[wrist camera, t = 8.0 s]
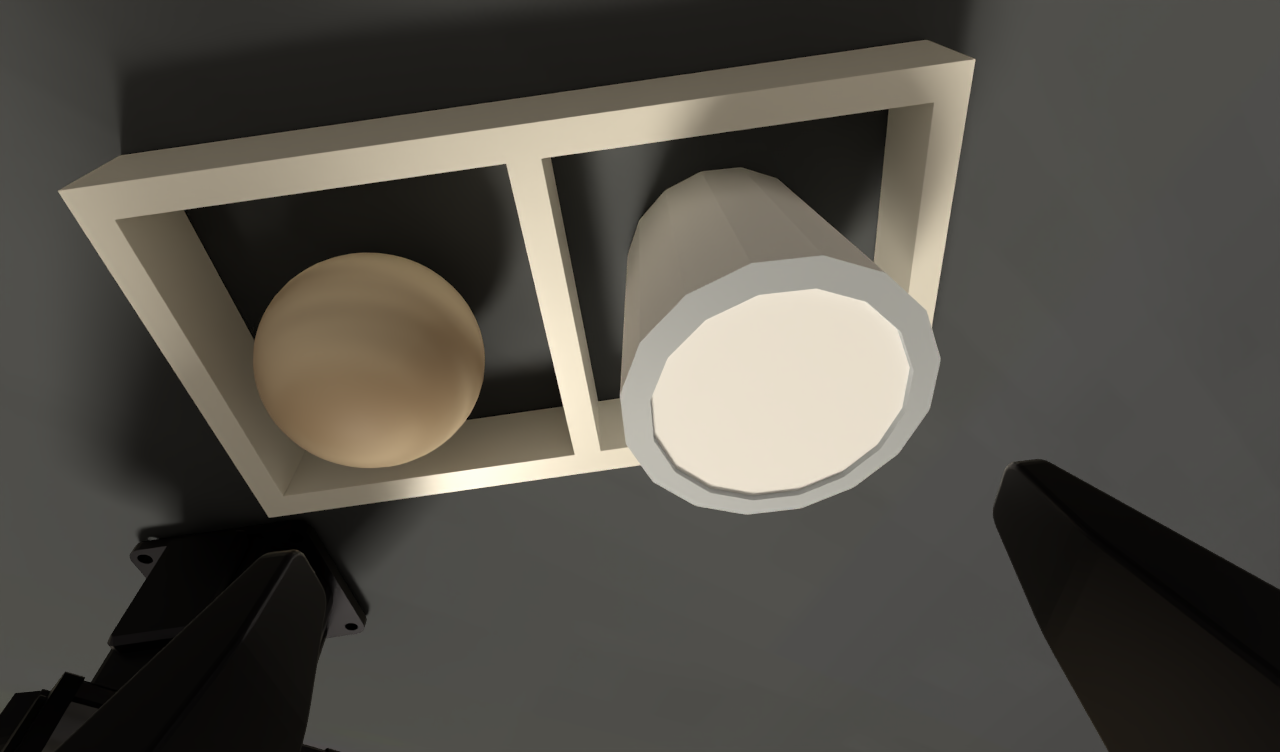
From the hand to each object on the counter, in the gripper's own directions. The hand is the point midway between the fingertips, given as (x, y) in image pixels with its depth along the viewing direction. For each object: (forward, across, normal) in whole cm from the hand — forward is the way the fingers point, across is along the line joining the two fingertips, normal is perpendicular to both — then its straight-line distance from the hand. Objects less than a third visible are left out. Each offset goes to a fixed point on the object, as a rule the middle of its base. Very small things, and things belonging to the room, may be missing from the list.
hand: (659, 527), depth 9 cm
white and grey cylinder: (+12, -3, +2) cm, 13 cm away
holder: (+12, +2, +3) cm, 13 cm away
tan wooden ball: (+12, +7, +3) cm, 14 cm away
